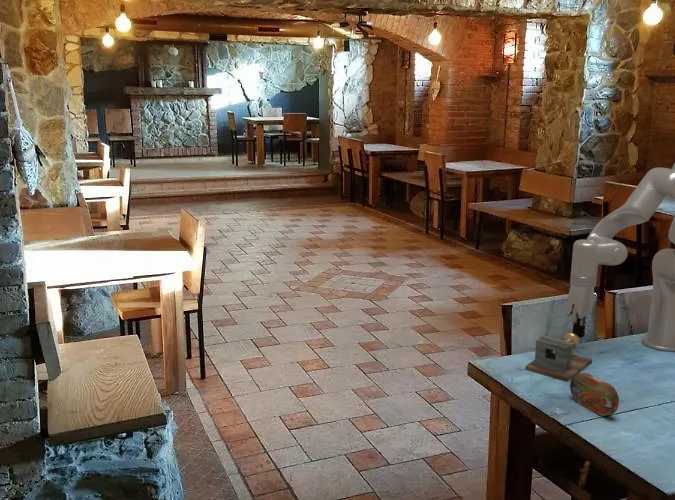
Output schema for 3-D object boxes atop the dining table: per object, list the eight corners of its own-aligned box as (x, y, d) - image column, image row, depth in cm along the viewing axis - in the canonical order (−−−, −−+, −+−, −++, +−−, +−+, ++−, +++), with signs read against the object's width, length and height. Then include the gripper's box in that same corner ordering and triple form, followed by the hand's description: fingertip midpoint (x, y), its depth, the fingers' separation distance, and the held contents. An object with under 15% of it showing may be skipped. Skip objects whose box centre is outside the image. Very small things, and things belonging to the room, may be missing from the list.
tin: (567, 397, 183) (570, 368, 181) (577, 395, 185) (579, 366, 183) (609, 422, 170) (613, 391, 168) (619, 419, 171) (622, 389, 169)
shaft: (562, 345, 210) (564, 330, 209) (578, 349, 207) (580, 334, 206) (544, 358, 201) (545, 342, 199) (560, 362, 197) (562, 346, 196)
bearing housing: (551, 351, 214) (553, 324, 212) (591, 362, 206) (594, 334, 204) (525, 369, 201) (527, 340, 199) (567, 381, 193) (570, 351, 191)
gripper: (581, 272, 215) (576, 327, 220) (561, 283, 204) (556, 340, 209) (604, 277, 210) (599, 332, 215) (585, 287, 200) (580, 346, 204)
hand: (578, 336), depth 212 cm, fingers closed
